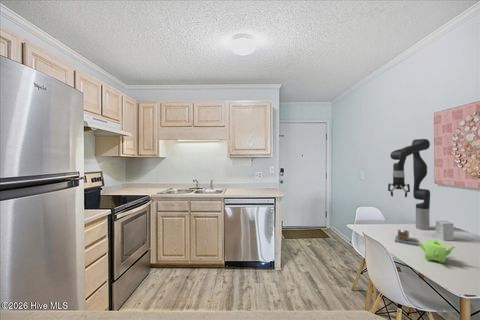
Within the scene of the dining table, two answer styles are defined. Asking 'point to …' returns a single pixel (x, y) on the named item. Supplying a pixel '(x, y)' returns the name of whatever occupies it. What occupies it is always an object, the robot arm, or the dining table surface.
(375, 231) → the dining table surface
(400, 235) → the wooden square frame
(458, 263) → the dining table surface
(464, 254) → the dining table surface
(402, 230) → the post stand
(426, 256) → the kettle
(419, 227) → the robot arm
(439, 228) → the supplement box
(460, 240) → the dining table surface
